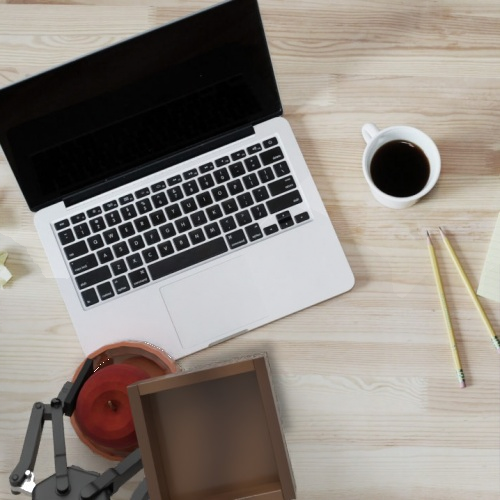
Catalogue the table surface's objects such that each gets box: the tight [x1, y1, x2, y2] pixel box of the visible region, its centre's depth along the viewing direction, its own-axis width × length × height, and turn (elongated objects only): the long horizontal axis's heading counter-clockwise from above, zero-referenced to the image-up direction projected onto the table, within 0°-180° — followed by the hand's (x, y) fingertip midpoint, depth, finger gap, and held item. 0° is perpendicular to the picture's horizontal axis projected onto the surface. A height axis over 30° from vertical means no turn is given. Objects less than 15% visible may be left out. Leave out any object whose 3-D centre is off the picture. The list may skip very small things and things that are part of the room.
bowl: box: [69, 340, 182, 463], centre depth 87 cm, size 14×14×3 cm
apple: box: [75, 364, 151, 449], centre depth 83 cm, size 10×10×10 cm
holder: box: [127, 353, 297, 500], centre depth 61 cm, size 12×12×4 cm
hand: (131, 377), depth 84 cm, fingers closed on apple, 9 cm apart
